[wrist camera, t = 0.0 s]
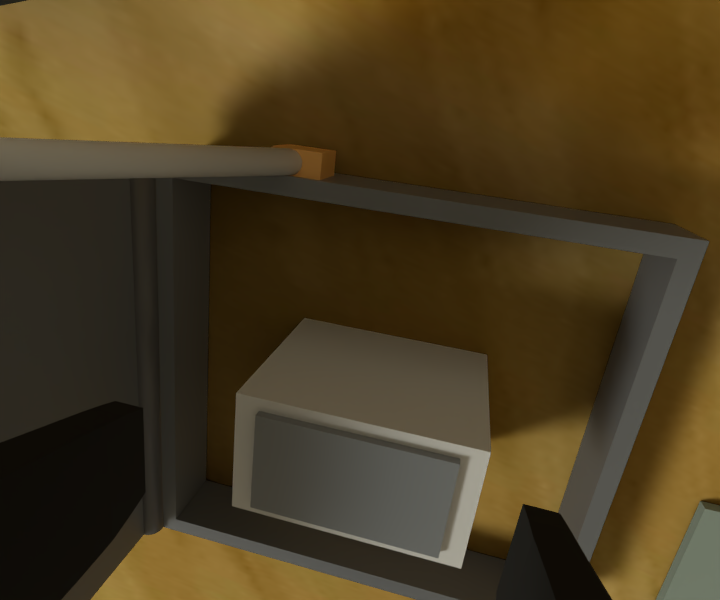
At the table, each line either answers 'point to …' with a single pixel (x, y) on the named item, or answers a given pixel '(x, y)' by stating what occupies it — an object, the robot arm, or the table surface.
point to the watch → (9, 1)
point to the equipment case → (191, 321)
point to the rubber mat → (696, 559)
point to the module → (366, 439)
